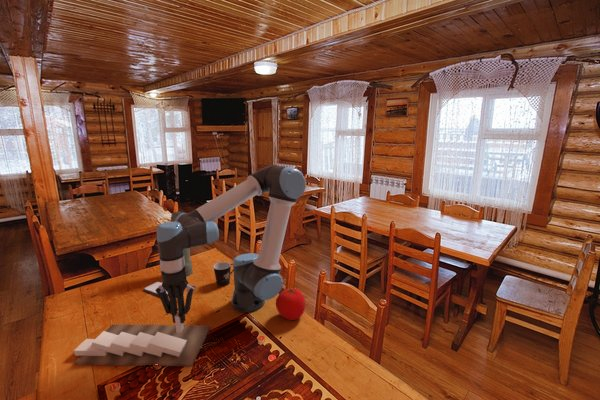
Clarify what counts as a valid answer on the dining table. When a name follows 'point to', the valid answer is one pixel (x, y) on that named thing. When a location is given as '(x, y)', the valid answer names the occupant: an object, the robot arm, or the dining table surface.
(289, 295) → the tomato
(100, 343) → the domino
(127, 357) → the walnut board
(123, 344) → the domino
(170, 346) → the loose domino
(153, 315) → the dining table surface
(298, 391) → the dining table surface
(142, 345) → the domino
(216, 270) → the coffee mug
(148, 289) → the phone case
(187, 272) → the thermos
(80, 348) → the domino
